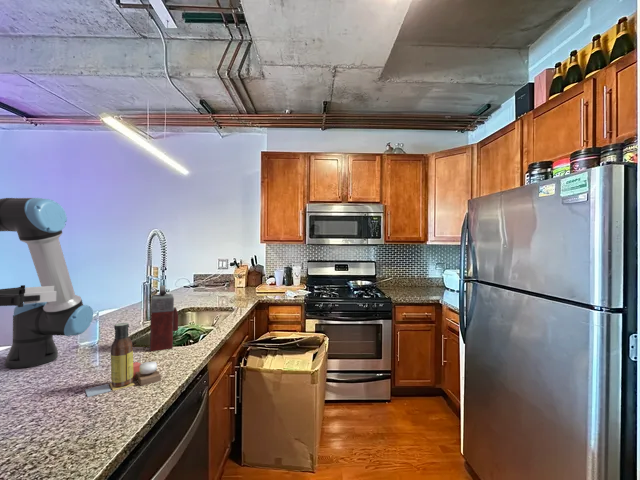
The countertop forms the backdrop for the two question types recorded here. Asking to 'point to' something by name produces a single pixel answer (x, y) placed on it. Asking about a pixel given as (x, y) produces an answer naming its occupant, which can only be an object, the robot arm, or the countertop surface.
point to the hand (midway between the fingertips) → (55, 293)
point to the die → (136, 368)
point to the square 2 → (121, 386)
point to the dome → (148, 367)
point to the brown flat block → (147, 378)
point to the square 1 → (97, 390)
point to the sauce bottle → (121, 357)
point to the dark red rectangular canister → (162, 321)
